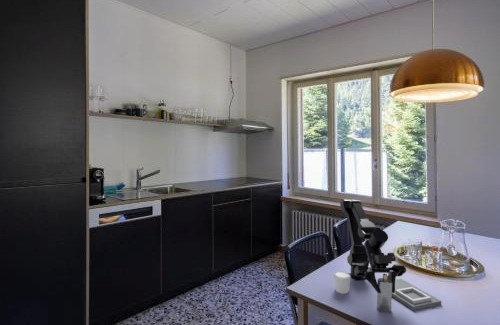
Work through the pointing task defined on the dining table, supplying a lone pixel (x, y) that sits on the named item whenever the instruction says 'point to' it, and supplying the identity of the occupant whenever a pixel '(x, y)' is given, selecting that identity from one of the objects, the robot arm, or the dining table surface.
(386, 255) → the robot arm
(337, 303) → the dining table surface
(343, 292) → the shot glass
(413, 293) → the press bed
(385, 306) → the gold-capped silver bottle
